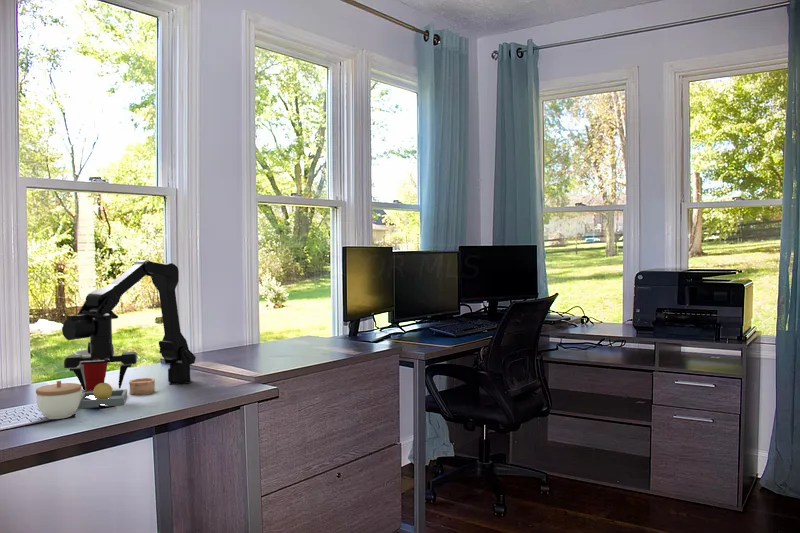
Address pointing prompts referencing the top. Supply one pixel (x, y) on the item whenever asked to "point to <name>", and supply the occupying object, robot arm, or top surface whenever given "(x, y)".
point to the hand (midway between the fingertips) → (102, 389)
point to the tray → (114, 400)
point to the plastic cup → (93, 371)
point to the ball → (102, 391)
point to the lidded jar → (59, 399)
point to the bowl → (142, 386)
